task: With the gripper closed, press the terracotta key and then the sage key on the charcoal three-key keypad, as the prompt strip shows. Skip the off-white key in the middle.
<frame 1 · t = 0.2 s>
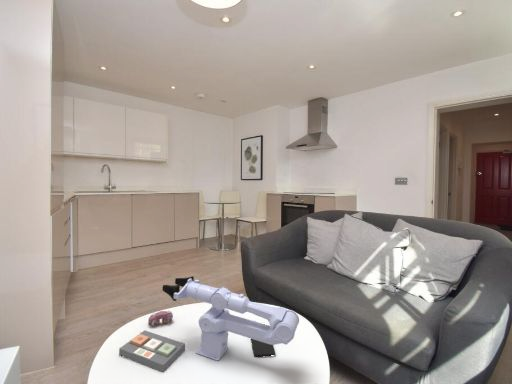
hand: (169, 284, 103), 21 cm above the table, tool horizontal, fingers open, 7 cm apart
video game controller: (160, 323, 113), on the table
sage key: (166, 350, 93), point 3 cm above the table, slide at 0.0 cm
keypad: (152, 352, 95), on the table
white key: (153, 345, 95), point 3 cm above the table, slide at 0.0 cm
terracotta key: (140, 340, 97), point 3 cm above the table, slide at 0.0 cm
smart home device: (260, 341, 106), on the table
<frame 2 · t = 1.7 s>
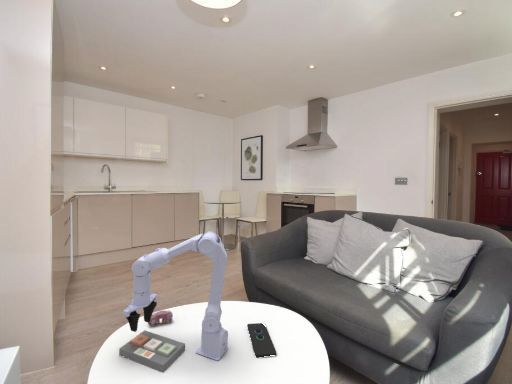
hand: (140, 326, 96), 8 cm above the table, tool pointing down, fingers open, 6 cm apart
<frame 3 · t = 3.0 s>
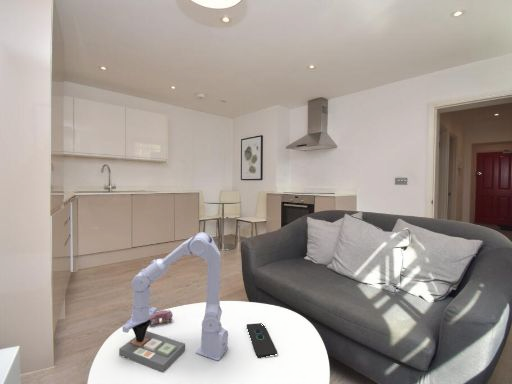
hand: (140, 340, 97), 3 cm above the table, tool pointing down, fingers closed, pressing on terracotta key
terracotta key: (140, 342, 97), point 2 cm above the table, slide at 0.7 cm, touching gripper
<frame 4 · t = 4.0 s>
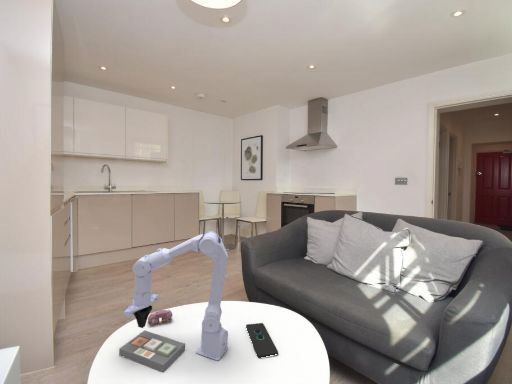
hand: (141, 326, 96), 8 cm above the table, tool pointing down, fingers closed
terracotta key: (140, 343, 97), point 2 cm above the table, slide at 1.0 cm, touching keypad
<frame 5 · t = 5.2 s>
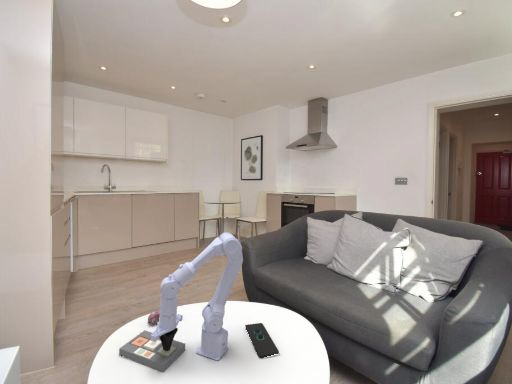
hand: (166, 349, 93), 3 cm above the table, tool pointing down, fingers closed, pressing on sage key
sage key: (166, 351, 93), point 2 cm above the table, slide at 0.5 cm, touching gripper
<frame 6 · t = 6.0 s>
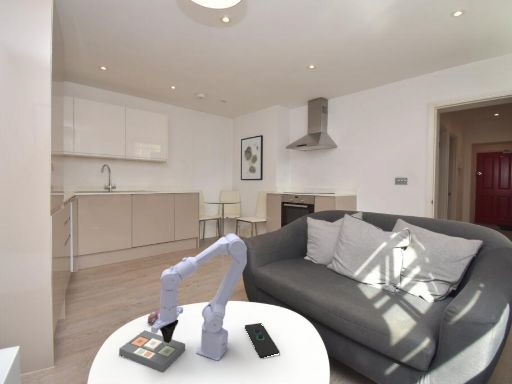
hand: (167, 341, 92), 6 cm above the table, tool pointing down, fingers closed
sage key: (166, 352, 93), point 2 cm above the table, slide at 1.0 cm
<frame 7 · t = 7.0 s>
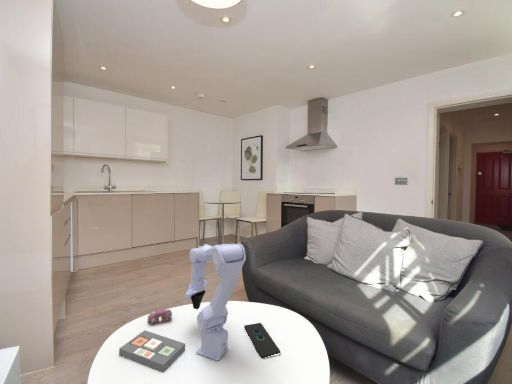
hand: (196, 308, 109), 9 cm above the table, tool pointing down, fingers closed
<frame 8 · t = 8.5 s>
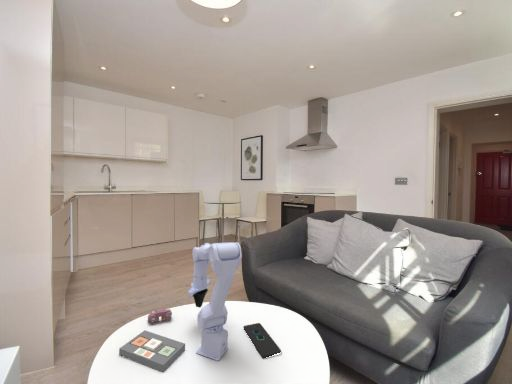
hand: (198, 306, 111), 9 cm above the table, tool pointing down, fingers closed
at the end: terracotta key slide at 1.0 cm; sage key slide at 1.0 cm; white key slide at 0.0 cm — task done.
